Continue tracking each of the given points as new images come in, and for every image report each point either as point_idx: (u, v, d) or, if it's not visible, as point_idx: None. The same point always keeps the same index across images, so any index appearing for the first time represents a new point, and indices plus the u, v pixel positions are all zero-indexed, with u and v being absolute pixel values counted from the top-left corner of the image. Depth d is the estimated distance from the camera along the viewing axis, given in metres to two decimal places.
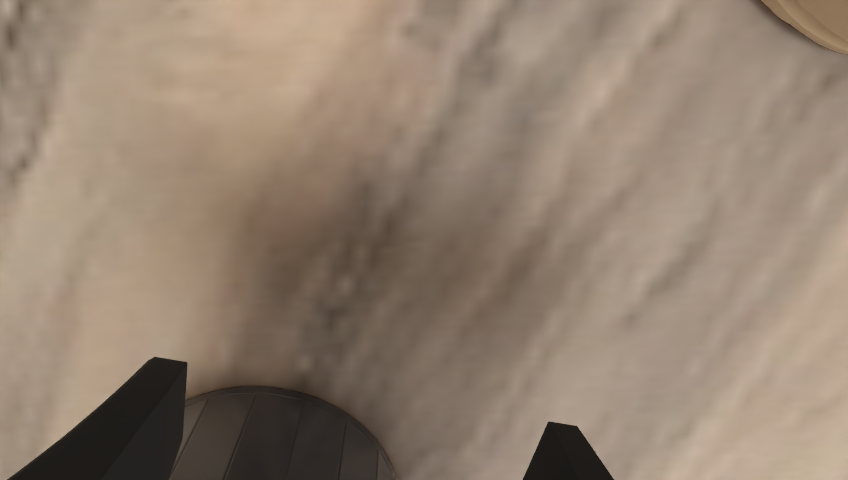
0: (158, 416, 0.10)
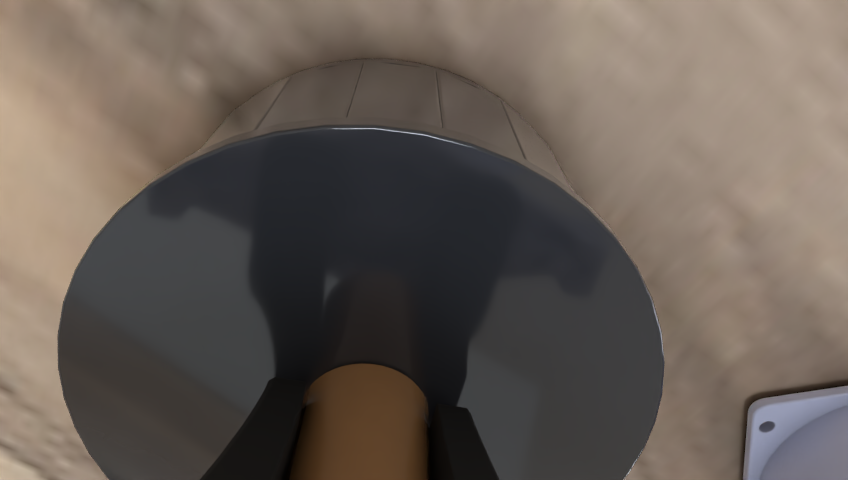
0: (292, 437, 0.11)
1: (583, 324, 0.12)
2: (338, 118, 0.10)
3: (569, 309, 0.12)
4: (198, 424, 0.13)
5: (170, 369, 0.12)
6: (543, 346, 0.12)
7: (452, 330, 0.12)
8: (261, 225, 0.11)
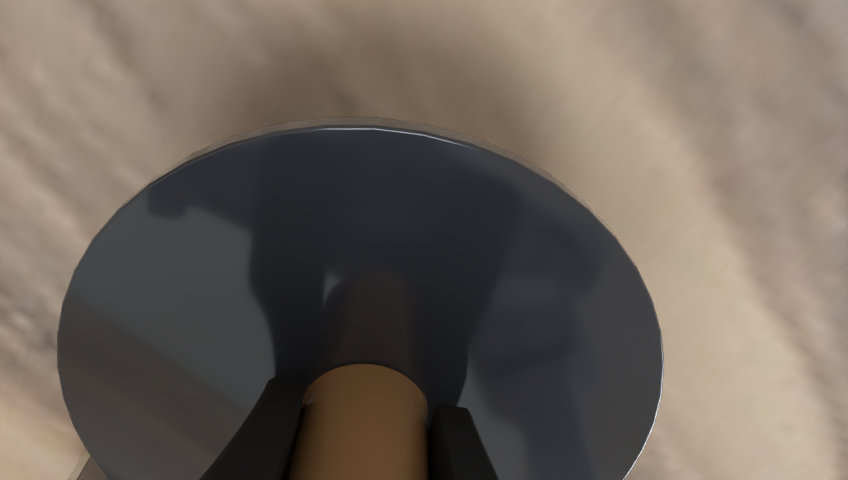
0: (291, 436, 0.11)
1: (584, 324, 0.12)
2: (337, 118, 0.10)
3: (569, 309, 0.12)
4: (197, 424, 0.13)
5: (169, 369, 0.12)
6: (543, 346, 0.12)
7: (452, 330, 0.12)
8: (260, 225, 0.11)
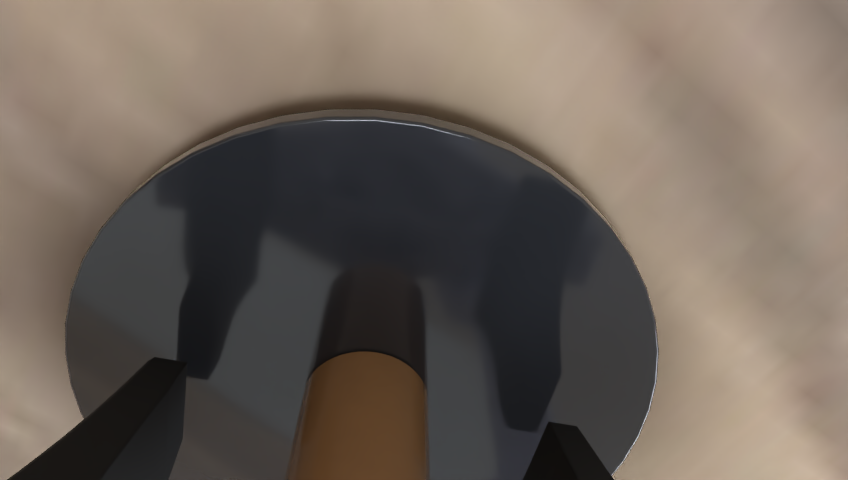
0: (158, 416, 0.10)
1: (579, 313, 0.12)
2: (339, 110, 0.11)
3: (565, 298, 0.12)
4: (203, 411, 0.13)
5: (175, 357, 0.13)
6: (540, 334, 0.12)
7: (451, 318, 0.12)
8: (264, 215, 0.11)
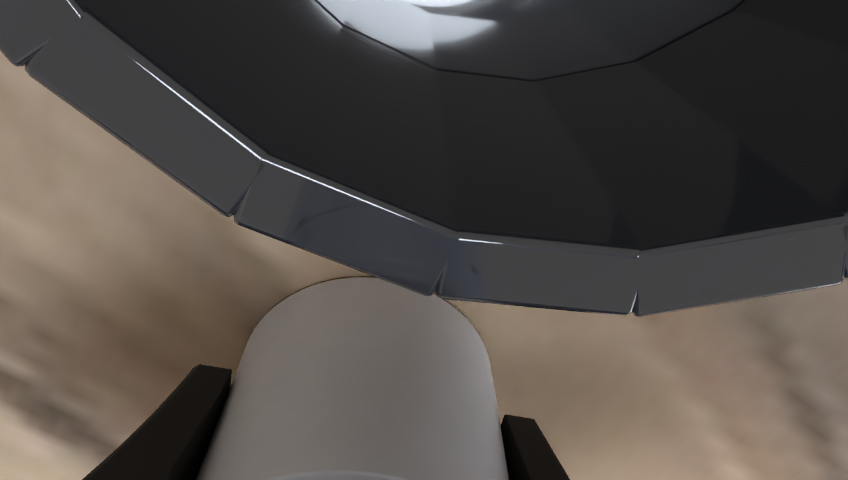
0: (208, 424, 0.10)
1: None
2: None
3: None
4: None
5: None
6: None
7: None
8: None
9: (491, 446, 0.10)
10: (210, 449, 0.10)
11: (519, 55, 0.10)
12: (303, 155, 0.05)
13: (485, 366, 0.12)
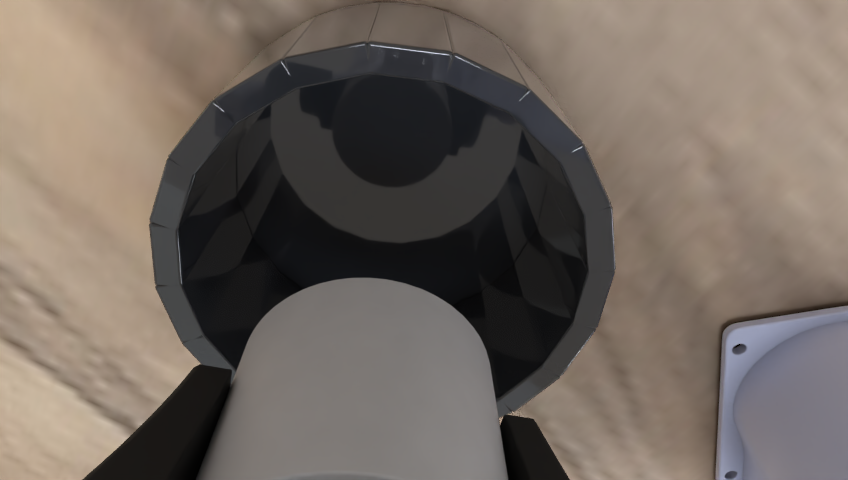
0: (208, 424, 0.10)
1: None
2: None
3: None
4: None
5: None
6: None
7: None
8: None
9: (491, 446, 0.10)
10: (210, 449, 0.10)
11: None
12: None
13: (485, 366, 0.12)
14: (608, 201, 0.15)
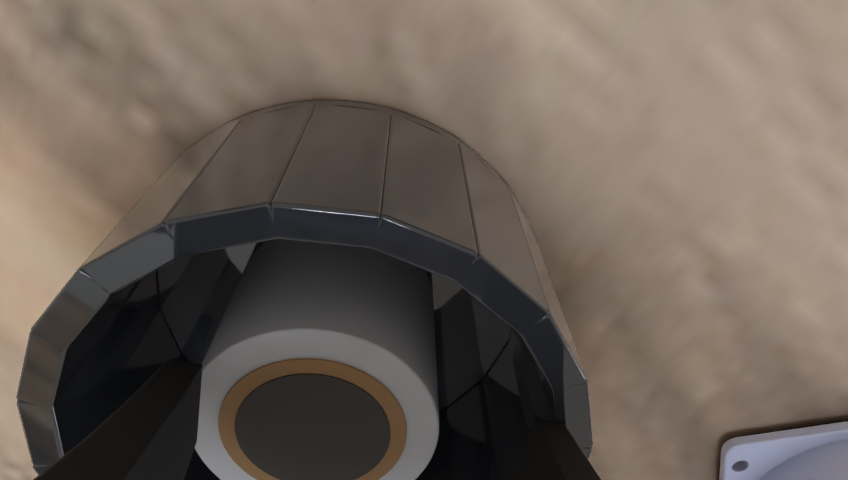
0: (175, 419, 0.10)
1: None
2: None
3: None
4: None
5: None
6: None
7: None
8: None
9: (420, 331, 0.14)
10: (217, 331, 0.14)
11: None
12: None
13: (424, 285, 0.16)
14: (582, 375, 0.12)
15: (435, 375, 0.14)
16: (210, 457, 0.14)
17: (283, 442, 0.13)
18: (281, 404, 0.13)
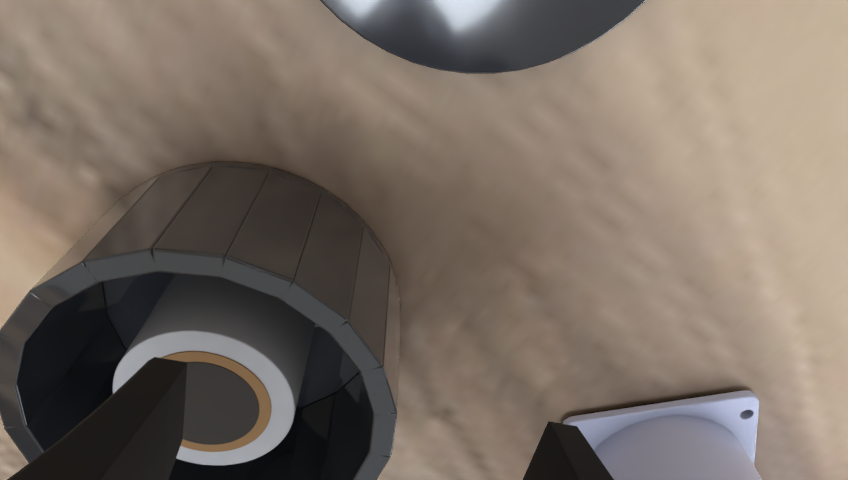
0: (158, 416, 0.10)
1: None
2: None
3: None
4: None
5: None
6: None
7: None
8: None
9: (286, 332, 0.20)
10: (138, 332, 0.19)
11: None
12: None
13: None
14: (378, 362, 0.17)
15: (296, 364, 0.19)
16: None
17: None
18: None
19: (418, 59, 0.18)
